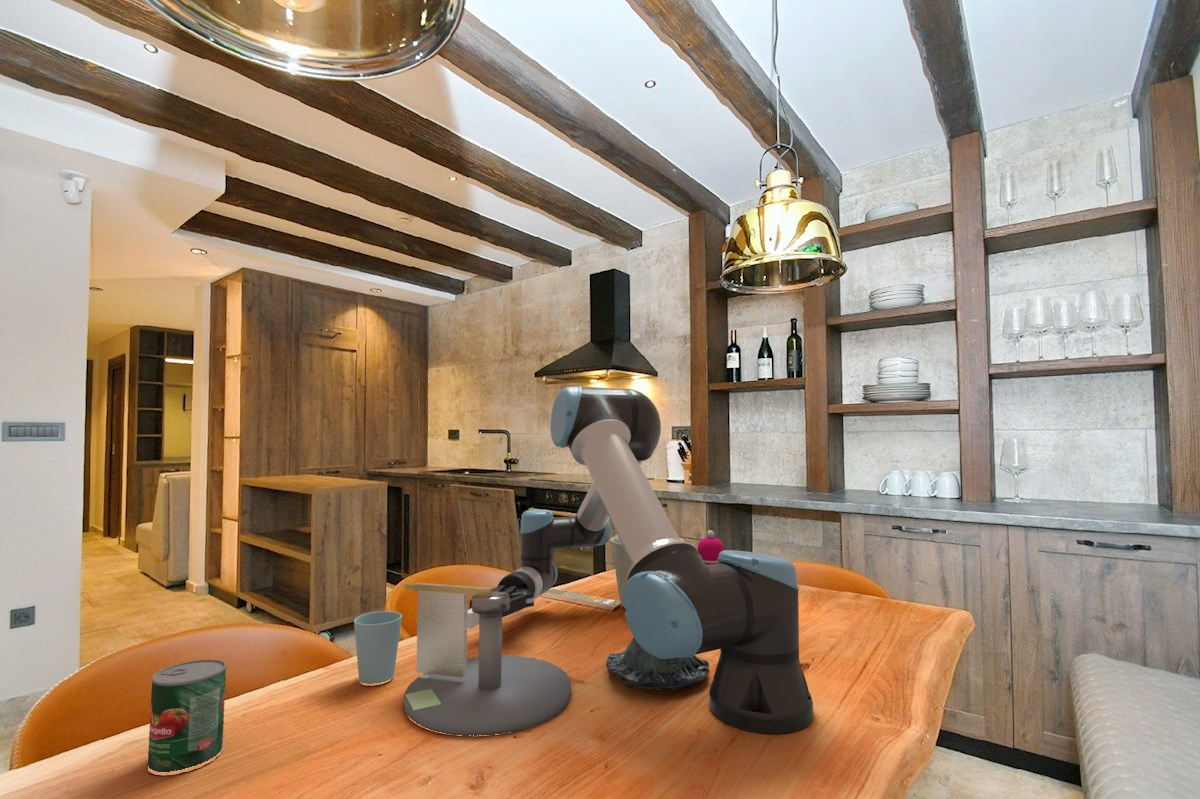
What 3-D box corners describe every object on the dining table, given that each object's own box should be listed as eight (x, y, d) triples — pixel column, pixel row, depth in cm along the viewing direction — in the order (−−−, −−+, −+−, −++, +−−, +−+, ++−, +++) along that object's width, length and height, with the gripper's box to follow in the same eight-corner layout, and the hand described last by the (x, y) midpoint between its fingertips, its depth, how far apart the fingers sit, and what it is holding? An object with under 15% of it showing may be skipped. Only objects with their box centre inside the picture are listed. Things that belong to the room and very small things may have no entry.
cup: (345, 691, 94) (348, 625, 94) (358, 672, 101) (361, 611, 102) (394, 688, 95) (396, 623, 95) (403, 670, 102) (405, 610, 103)
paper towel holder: (597, 714, 86) (597, 627, 87) (415, 753, 75) (417, 654, 76) (540, 655, 109) (540, 588, 110) (395, 679, 98) (397, 604, 99)
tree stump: (717, 660, 108) (718, 571, 105) (701, 737, 89) (701, 632, 86) (623, 644, 114) (621, 559, 111) (589, 713, 95) (586, 614, 92)
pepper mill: (725, 614, 135) (724, 528, 136) (729, 624, 128) (728, 533, 129) (694, 613, 136) (693, 527, 137) (696, 623, 128) (695, 532, 130)
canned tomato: (236, 742, 78) (239, 658, 78) (197, 776, 70) (201, 682, 71) (175, 743, 77) (180, 659, 78) (130, 777, 69) (135, 683, 70)
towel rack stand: (514, 673, 94) (515, 585, 95) (499, 689, 88) (500, 594, 89) (413, 662, 99) (415, 578, 100) (392, 676, 93) (394, 586, 94)
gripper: (547, 608, 124) (500, 645, 101) (492, 603, 127) (434, 639, 104) (548, 572, 124) (501, 602, 101) (492, 569, 127) (435, 596, 105)
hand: (467, 620), depth 103 cm, fingers closed
